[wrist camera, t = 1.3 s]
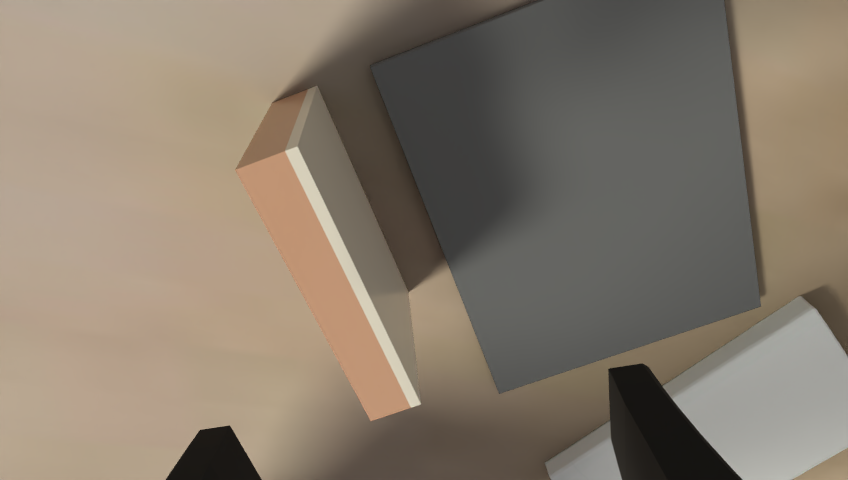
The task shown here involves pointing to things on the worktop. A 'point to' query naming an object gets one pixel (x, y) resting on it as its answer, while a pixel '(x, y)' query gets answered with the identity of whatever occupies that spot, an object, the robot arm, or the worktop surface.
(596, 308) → the mat
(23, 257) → the worktop surface
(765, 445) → the external hard drive
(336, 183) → the tile
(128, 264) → the worktop surface
